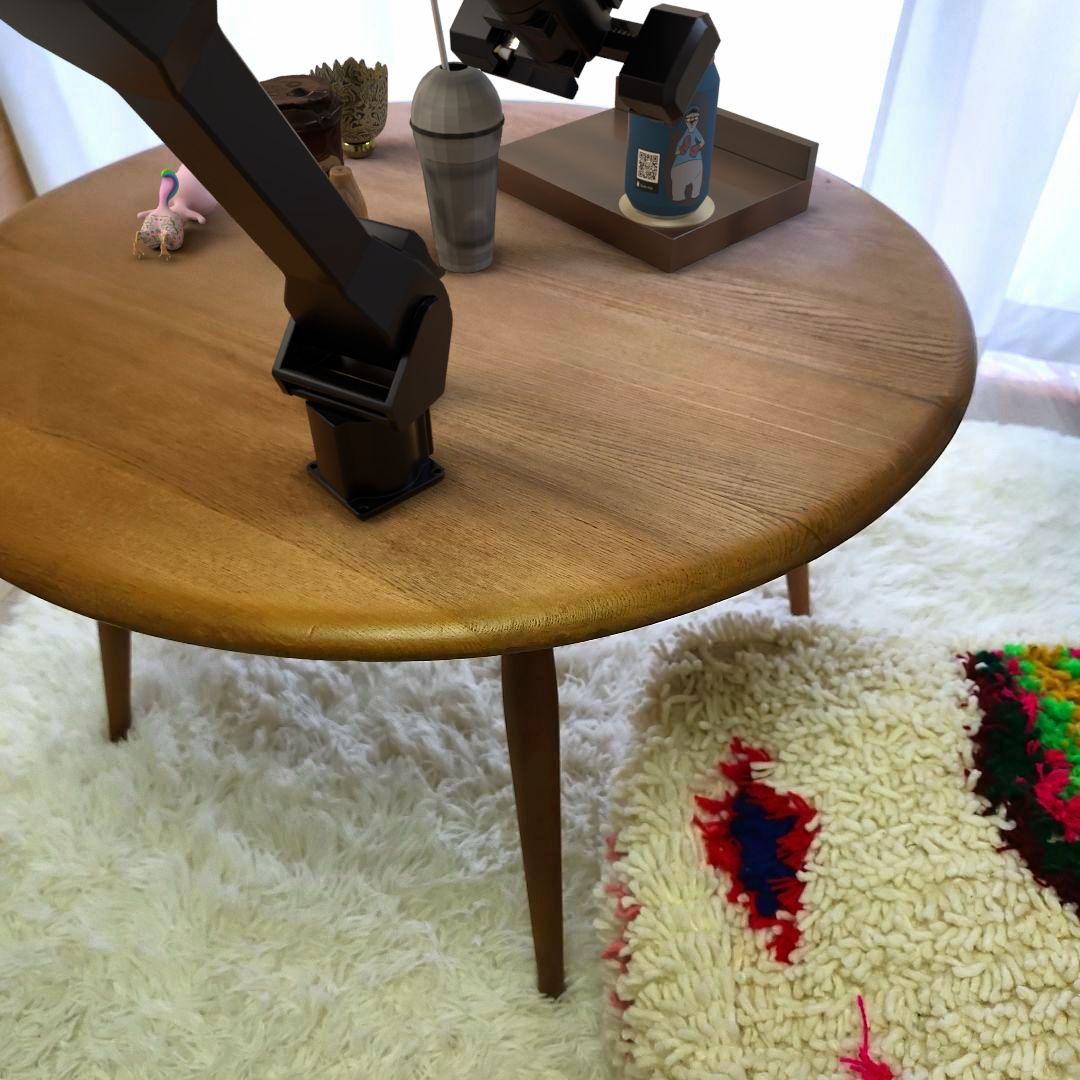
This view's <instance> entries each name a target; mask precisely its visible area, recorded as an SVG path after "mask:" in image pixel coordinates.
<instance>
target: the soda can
mask: <svg viewBox="0 0 1080 1080" xmlns="http://www.w3.org/2000/svg"><path fill="white" fill-rule="evenodd" d="M715 54H716V53H715ZM715 54H714V56H713V58H712V60H711V62H710V64H709V66H708V68H707V70H706V72H705V74H704V76H703V78H702V80H701V82H700V84H699V86H698V89H697V91H696V93H695V95H694V97H693V99H692V101H691V103H690V105H689V107H688V109H687V111H686V113H685V115H684V116H683V117H682V119H681V121H680V123H679V125H678V127H677V128H676V129H674V128H670V127H667V126H665V125H662V124H659V123H656V122H654V121H651V120H648V119H645V118H642V117H639V116H637V115H634V114H631V113H629V112H628V131H627V150H626V169H625V193H626V195H627V197H628V199H629V201H630V203H631V205H632V206H633V208H634V209H635V210H636V211H637V212H638V213H640V214H642V215H645V216H648V217H651V218H657V219H678V218H683V217H687V216H689V215H691V214H693V213H695V212H696V211H697V209H698V208H699V207H700V205H701V204H702V203H703V201H704V200H705V198H706V197H707V195H708V190H709V181H710V171H711V162H712V152H713V143H714V133H715V124H716V115H717V107H718V105H719V104H718V103H719V95H720V87H721V77H720V73H719V71H718V68H717V65H716V63H715V59H716V55H715ZM629 108H630V107H629Z"/></svg>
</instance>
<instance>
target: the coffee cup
mask: <svg viewBox="0 0 1080 1080" xmlns="http://www.w3.org/2000/svg"><path fill="white" fill-rule="evenodd" d="M259 82H260V84H261V85H262V86H263V88H264V89H265V91H266V92H267V93H268V95H269V96H270V97H271V99H272V100H273V102H274V103H275V104H276V106H277V107H278V108H279V110H280V111H281V113H282V114H283V115H284V117H285V118H286V119H287V121H288V122H289V124H290V125H291V126H292V128H293V129H294V130H295V132H296V133H297V135H298V136H299V137H300V139H301V140H302V142H303V143H304V144H305V146H306V147H307V148H308V150H309V151H310V153H311V154H312V155H313V157H314V158H315V159H316V161H317V162H318V164H319V165H320V166H321V168H322V169H323V170H324V172H325V173H326V175H327V176H328V177H329V178H330V169H331V168H333V167H335V166H345V159H344V154H343V149H342V138H341V118H342V114H343V107H344V106H343V105H344V101H342V99H341V97H340V96H339V95H338V94H337V93H336V92H334V91H332V88H331V81H329V80H328V78H326V77H321V76H312V75H311V74H310V75H309V74H305V73H302V74H287V75H278V76H276V77H273V78H269V79H265V80H261V81H259Z"/></svg>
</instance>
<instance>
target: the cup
mask: <svg viewBox="0 0 1080 1080" xmlns="http://www.w3.org/2000/svg"><path fill="white" fill-rule="evenodd" d="M388 69H389V68H388V66H387V64H386V63H384V64H382V63H381V62H380V61H379V60H377V62H375V64H374V68H373V67H372V66H371V67H367V65H366V61H365V59H364V58H361V59H360V60H359V61H357V60H356V59H355V58H354V56H349V57H348V58H347V59H346V60H344V62H343V63H342V64H341V62H339V60H338V59H337V58H334V61H333V63H332V68H331V66H329V65H328V63H327V62H324V61H323V62H322V63H321V66H319V65H318V64H316V65H315V67H314V70H313V69H310V70H309V73H308V75H312V76H321V77H326V78H328V80H329V81H331V88H332V91H334V92H336V93H337V94H338V95H339V96H340V97H341V99H342V101H344V105H343V106H344V107H343V114H342V118H341V138H342V149H343V156H346V157H348V158H353V159H360V158H361V159H362V158H366V157H369V156H371V155H372V154H374V153H375V152H376V149H377V144H378V142H377V140H376V138H377V137H378V136H380V135H381V134H382V132H383V130H384V128H385V127H386V124H387V119H388V109H389V70H388Z"/></svg>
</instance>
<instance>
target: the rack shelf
mask: <svg viewBox="0 0 1080 1080" xmlns="http://www.w3.org/2000/svg"><path fill="white" fill-rule="evenodd" d="M618 82H619V75H616V76H615V87H614V89H615V90H614V107H612V108H609V109H606V110H602V111H600V112H596V113H594V114H591V115H588V116H585V117H582V118H579V119H576V120H573V121H570V122H567V123H564V124H561V125H559V126H558V125H557V126H556V127H552V128H550V129H547V130H543V131H541V132H537V133H535V134H532V135H528V136H526V137H523V138H520V139H517V140H514V141H512V142H509V143H505V144H502V145H500V149H499V152H498V173H497V190H501V191H502V192H504V193H506V194H508V195H510V196H513V197H514V198H517V199H518V200H521V201H524V202H525V203H526V204H529V205H531V206H533V207H535V208H537V209H539V210H541V211H543V212H545V213H547V214H549V215H551V216H552V217H555V218H557V219H560V220H561V221H564V223H565V222H566V223H567V224H569V225H571V226H573V227H575V228H577V229H578V230H579V229H580V230H581V231H584V232H585V233H588V234H589V235H591V236H593V237H595V238H597V239H599V240H602V241H604V242H605V243H608V244H610V245H612V246H614V247H615V248H618V249H620V250H622V251H624V252H626V253H628V254H630V255H632V256H634V257H636V258H638V259H640V260H642V261H644V262H646V263H648V264H650V265H652V266H653V267H656V268H658V269H660V270H662V271H663V272H666V273H669V274H671V273H673V272H675V271H678V270H680V269H682V268H685V267H686V266H688V265H691V264H693V263H695V262H697V261H699V260H702V259H704V258H706V257H709V256H710V255H712V254H714V253H717V252H718V251H719V252H720V251H721V250H723V249H724V248H728V247H729V246H731V245H734V244H736V243H738V242H740V241H742V240H744V239H746V238H749V237H751V236H753V235H755V234H758V233H759V232H762V231H764V230H766V229H768V228H770V227H773V226H774V225H777V224H779V223H781V222H783V221H786V220H788V219H790V218H792V217H794V216H796V215H798V214H801V213H804V211H807V210H808V208H809V203H810V198H811V192H812V186H813V180H814V177H815V176H814V175H815V169H816V165H817V158H818V153H819V147H820V143H819V142H816V141H814V140H811V139H808V138H806V137H803V136H799V135H797V134H795V133H791V132H788V131H785V130H784V129H780V128H778V127H774V126H772V125H769V124H767V123H763V122H761V121H758V120H755V119H752V118H749V117H747V116H744V115H742V114H738V113H735V112H733V111H730V110H728V109H724V108H722V107H718V106H717V115H716V124H715V133H714V143H713V152H712V162H711V171H710V181H709V190H708V195H707V197H706V198H705V200H704V201H703V203H702V204H701V205H700V207H699V208H698V209H697V211H696V212H695V213H693V214H691V215H689V216H687V217H683V218H678V219H657V218H651V217H648V216H645V215H642V214H640V213H638V212H637V211H636V210H635V209H634V208H633V206H632V205H631V203H630V201H629V199H628V197H627V195H626V193H625V169H626V150H627V131H628V110H629V107H628V106H627V105H625V104H624V103H623V102H622V100H621V99H620V97H619V96H618Z"/></svg>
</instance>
